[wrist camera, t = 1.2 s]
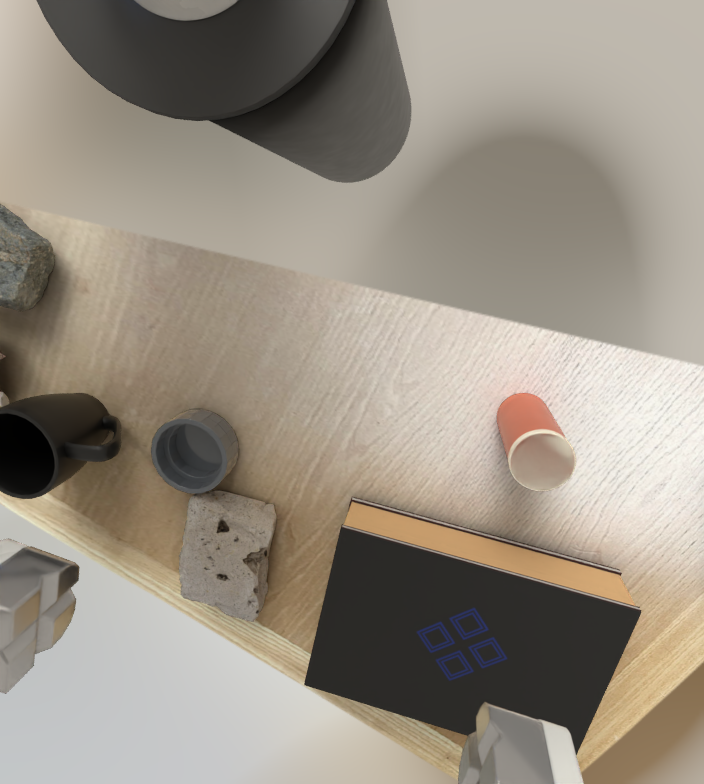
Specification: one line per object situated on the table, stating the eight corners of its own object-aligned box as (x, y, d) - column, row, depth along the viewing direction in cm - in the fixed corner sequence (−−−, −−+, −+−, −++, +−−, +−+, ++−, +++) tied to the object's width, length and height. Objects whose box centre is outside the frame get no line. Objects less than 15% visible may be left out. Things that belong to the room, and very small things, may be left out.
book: (556, 707, 55) (570, 768, 48) (319, 636, 57) (303, 685, 51) (617, 564, 49) (642, 612, 43) (353, 492, 52) (340, 527, 45)
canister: (495, 393, 47) (508, 432, 37) (550, 391, 46) (577, 431, 37) (496, 441, 48) (508, 491, 39) (549, 440, 47) (575, 491, 38)
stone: (283, 486, 52) (188, 478, 55) (261, 521, 47) (158, 510, 49) (293, 594, 57) (205, 583, 59) (274, 637, 52) (179, 622, 54)
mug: (162, 462, 54) (105, 507, 45) (54, 454, 56) (-20, 495, 47) (154, 384, 52) (93, 414, 43) (42, 377, 54) (-38, 406, 45)
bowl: (163, 408, 53) (144, 419, 49) (235, 406, 51) (220, 417, 48) (175, 478, 55) (158, 493, 51) (245, 477, 53) (232, 493, 50)
